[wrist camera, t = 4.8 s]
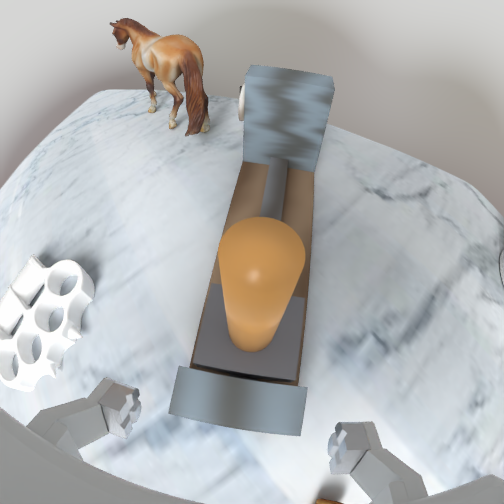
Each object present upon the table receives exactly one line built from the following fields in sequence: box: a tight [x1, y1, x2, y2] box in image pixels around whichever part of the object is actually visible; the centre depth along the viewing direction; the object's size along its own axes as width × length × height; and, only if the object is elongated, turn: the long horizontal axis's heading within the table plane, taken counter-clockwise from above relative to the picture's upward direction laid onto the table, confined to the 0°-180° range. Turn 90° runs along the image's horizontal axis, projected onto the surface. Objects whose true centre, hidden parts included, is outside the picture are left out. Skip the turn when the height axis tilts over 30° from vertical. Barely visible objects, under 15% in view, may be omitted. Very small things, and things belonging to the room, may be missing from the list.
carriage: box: [193, 217, 305, 383], centre depth 18 cm, size 8×7×14 cm
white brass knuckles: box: [0, 254, 95, 391], centre depth 25 cm, size 3×18×15 cm
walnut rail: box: [169, 65, 335, 436], centre depth 26 cm, size 11×36×15 cm, turn 171°
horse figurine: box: [110, 18, 210, 136], centre depth 38 cm, size 31×8×21 cm, turn 40°
